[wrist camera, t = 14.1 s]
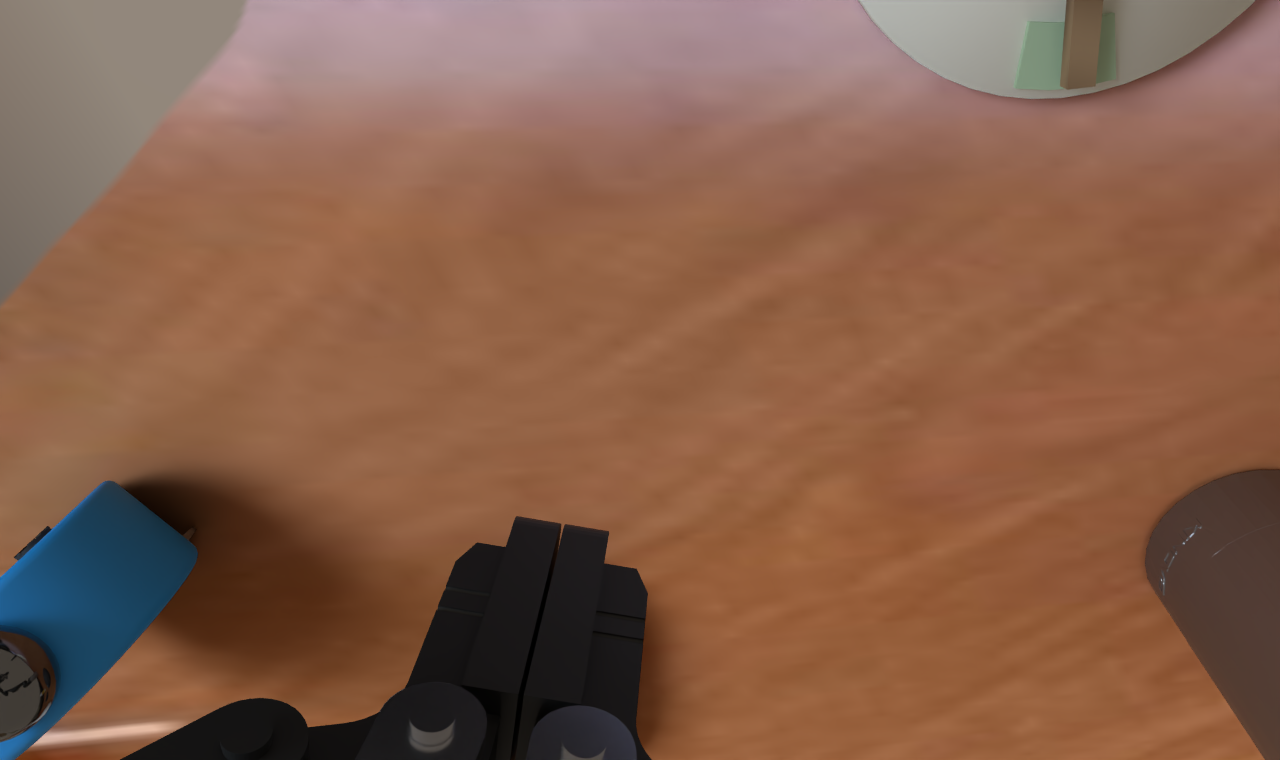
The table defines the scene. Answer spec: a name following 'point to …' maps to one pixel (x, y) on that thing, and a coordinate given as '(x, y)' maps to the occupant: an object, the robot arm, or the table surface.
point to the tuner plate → (1045, 39)
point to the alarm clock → (81, 606)
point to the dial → (1081, 43)
